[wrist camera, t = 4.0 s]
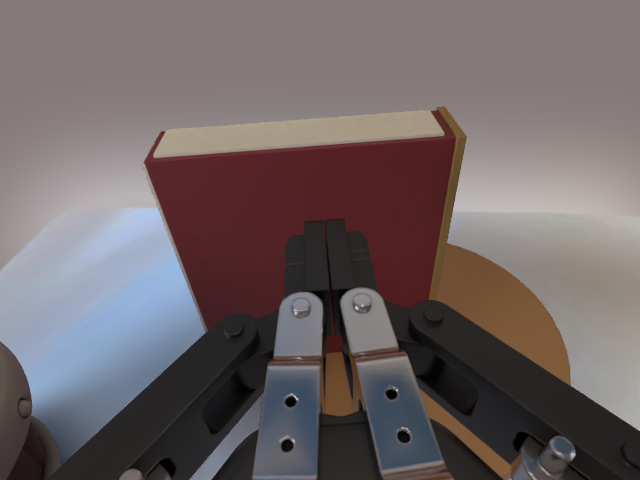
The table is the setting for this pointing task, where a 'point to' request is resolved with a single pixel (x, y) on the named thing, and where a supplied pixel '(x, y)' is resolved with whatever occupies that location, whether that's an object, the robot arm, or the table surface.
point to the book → (359, 215)
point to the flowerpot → (22, 428)
